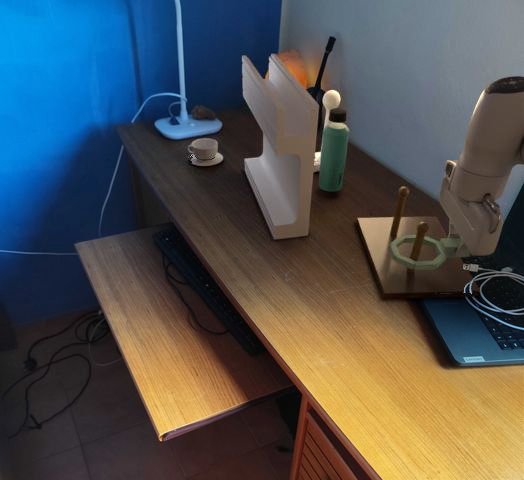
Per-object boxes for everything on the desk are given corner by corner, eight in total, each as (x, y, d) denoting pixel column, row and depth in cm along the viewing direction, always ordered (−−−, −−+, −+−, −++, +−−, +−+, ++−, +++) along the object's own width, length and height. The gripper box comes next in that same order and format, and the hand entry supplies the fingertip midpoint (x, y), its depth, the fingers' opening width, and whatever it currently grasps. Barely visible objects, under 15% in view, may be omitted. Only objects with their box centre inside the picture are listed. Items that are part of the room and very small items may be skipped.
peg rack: (434, 221, 111) (450, 170, 102) (477, 296, 92) (501, 242, 83) (356, 223, 111) (364, 172, 102) (383, 299, 91) (396, 244, 82)
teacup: (226, 153, 137) (225, 137, 134) (219, 168, 130) (218, 152, 127) (193, 151, 138) (191, 135, 135) (184, 166, 131) (182, 149, 128)
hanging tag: (457, 238, 96) (461, 227, 95) (475, 268, 89) (480, 257, 87) (385, 240, 96) (387, 229, 94) (397, 270, 89) (400, 259, 87)
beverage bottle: (339, 199, 119) (350, 116, 104) (314, 195, 120) (321, 113, 106) (344, 187, 123) (355, 106, 109) (319, 183, 124) (327, 103, 110)
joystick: (339, 176, 128) (349, 97, 113) (313, 179, 126) (320, 99, 112) (324, 159, 135) (332, 82, 121) (299, 161, 134) (305, 85, 119)
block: (307, 235, 107) (319, 105, 87) (273, 239, 106) (277, 108, 86) (272, 168, 131) (275, 53, 110) (244, 171, 129) (241, 55, 109)
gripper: (521, 211, 75) (491, 279, 85) (475, 156, 89) (454, 220, 99) (483, 212, 75) (457, 281, 85) (443, 157, 89) (425, 221, 99)
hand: (455, 248), depth 92 cm, fingers closed on hanging tag, 3 cm apart
